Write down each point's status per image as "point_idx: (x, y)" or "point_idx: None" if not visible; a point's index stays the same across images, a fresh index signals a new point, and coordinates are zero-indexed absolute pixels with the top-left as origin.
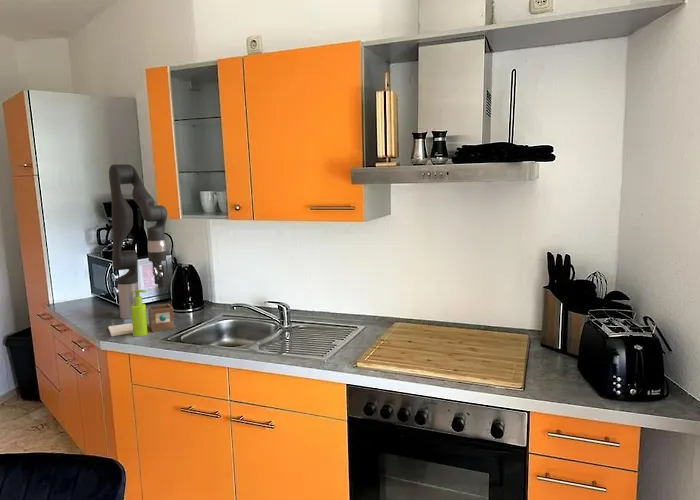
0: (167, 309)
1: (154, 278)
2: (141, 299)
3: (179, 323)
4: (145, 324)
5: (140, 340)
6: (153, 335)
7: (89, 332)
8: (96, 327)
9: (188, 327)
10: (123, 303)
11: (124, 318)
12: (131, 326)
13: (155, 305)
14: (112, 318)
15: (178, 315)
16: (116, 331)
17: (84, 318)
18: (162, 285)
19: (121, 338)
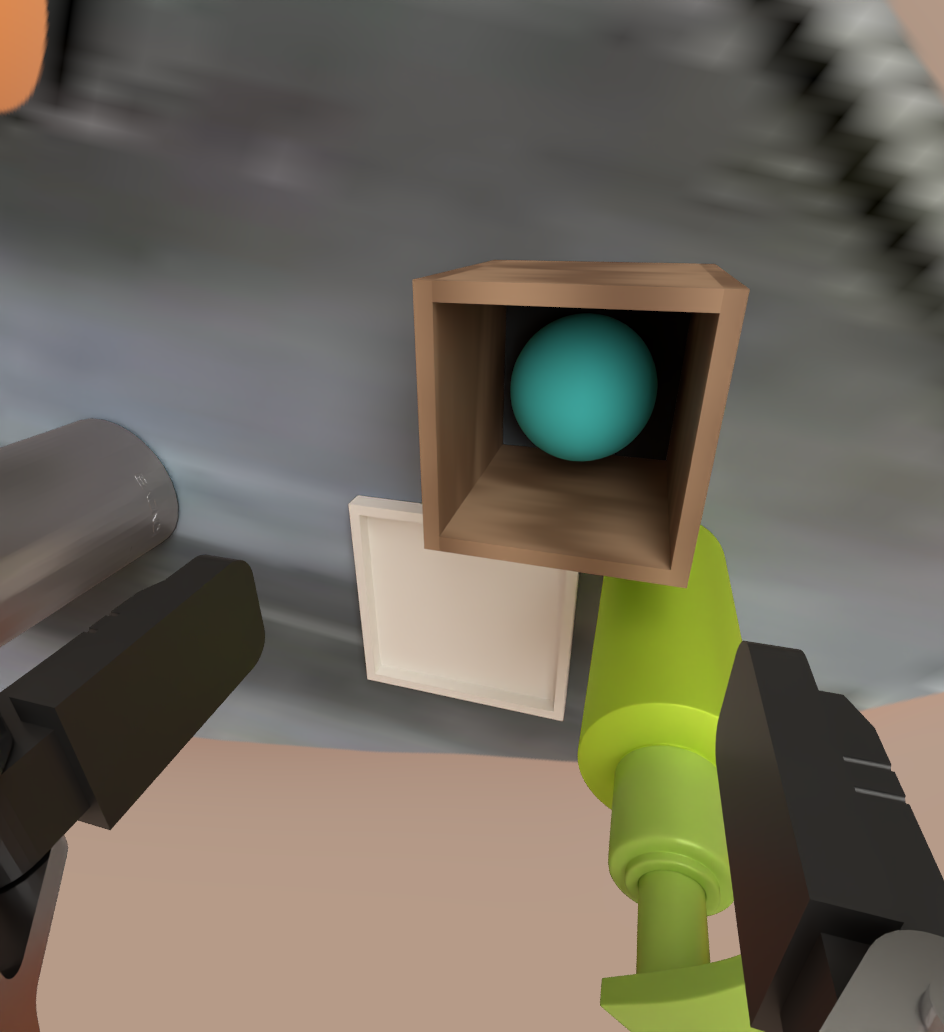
0: (728, 377)
1: (145, 762)
2: (720, 833)
3: (513, 150)
4: (724, 588)
5: (852, 613)
6: (784, 494)
7: (398, 750)
8: (307, 697)
9: (771, 73)
10: (71, 597)
11: (169, 534)
12: (402, 556)
13: (429, 468)
14: (133, 580)
15: (183, 88)
16: (480, 661)
17: None
18: (861, 727)
19: None
